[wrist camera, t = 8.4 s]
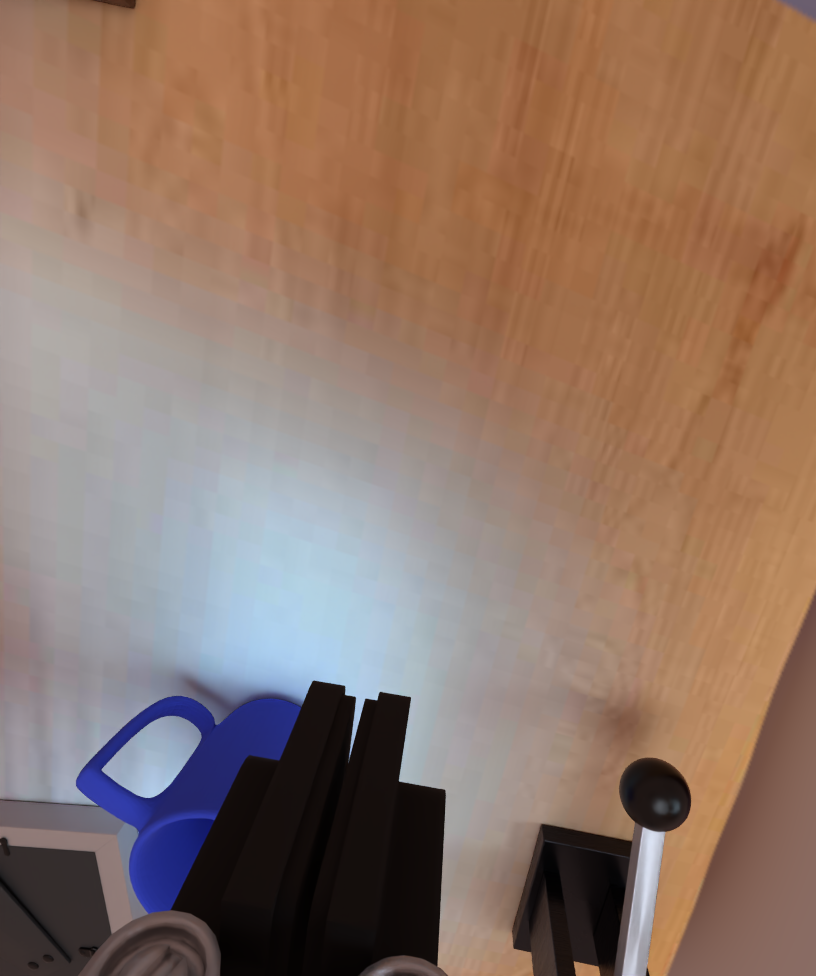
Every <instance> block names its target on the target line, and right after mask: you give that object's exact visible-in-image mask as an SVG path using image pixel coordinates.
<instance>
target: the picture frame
mask: <svg viewBox="0 0 816 976" xmlns="http://www.w3.org/2000/svg"><path fill="white" fill-rule="evenodd" d="M137 837H138V831H137V829H136V828H135V827H133V826H132V825H129V824H127V823H125V822H123V821H122V820H120V819H118V818H117V817H115V816H114V815H112V814H110V813H109V812H107V811H106V810H104V809H103V808H101V807H95V806H80V805H65V804H51V803H36V802H21V801H6V800H0V976H78V975H79V974H80V972H81V971H82V970H83V968H84V967H85V966H86V964H87V963H88V962H89V960H90V959H91V958H92V956H93V955H94V953H95V952H96V951H97V950H98V949H99V948H100V947H101V945H102V944H103V943H104V942H105V941H106V940H107V939H108V938H109V937H110V936H111V935H112V934H113V933H114V932H116V931H117V930H119V929H120V928H121V927H123V926H124V925H126V924H127V923H129V922H130V921H132V920H134V919H137V918H139V917H142V916H145V915H147V914H148V913H147V912H146V910H145V909H144V907H143V906H142V905H141V903H140V902H139V900H138V898H137V897H136V895H135V892H134V890H133V887H132V884H131V881H130V875H129V858H130V853H131V850H132V847H133V845H134V842H135V841H136V839H137Z"/></svg>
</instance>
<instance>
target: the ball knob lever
mask: <svg viewBox="0 0 816 976" xmlns="http://www.w3.org/2000/svg"><path fill="white" fill-rule="evenodd" d="M619 793H620V798H621V802H622V805H623V807H624V809H625V810H626V812H627V814H628V815H629V816H630V817H631V818H632V819H633V820H634V821H635V826H634V833H633V841H632V848H631V855H630V862H629V869H628V876H627V883H626V891H625V898H624V905H623V912H622V919H621V926H620V934H619V941H618V948H617V955H616V962H615V969H614V976H646V971H647V963H648V956H649V948H650V941H651V934H652V926H653V919H654V911H655V904H656V897H657V889H658V882H659V875H660V867H661V860H662V852H663V845H664V838H665V832H667V831H671V830H674V829H676V828H677V827H679V826H680V825H681V824H682V823H683V822H684V821H685V820H686V818H687V816H688V814H689V811H690V807H691V795H690V790H689V787H688V785H687V782H686V780H685V779H684V777H683V776H682V774H681V773H680V772H679V771H678V770H677V769H676V768H675V767H674V766H672V765H671V764H669V763H667V762H666V761H663V760H660V759H657V758H642V759H638V760H636V761H634V762H633V763H631V764H630V765H629V766H628V767H627V768H626V769H625V771H624V772H623V774H622V776H621V779H620V785H619Z"/></svg>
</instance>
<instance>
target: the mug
mask: <svg viewBox="0 0 816 976" xmlns="http://www.w3.org/2000/svg"><path fill="white" fill-rule="evenodd" d="M300 710H301V707H299V706H297V705H296V704H293V703H290V702H288V701H284V700H280V699H259V700H255V701H251V702H249V703H246V704H244V705H242V706H241V707H239V708H238V709H236V710H235V711H234V712H232V713H231V714H230V715H229V716H228V717H227V718H226V719H224V720H223V721H222V722H221V723H220V724H218V725H215V721H214V717H213V716H212V714H211V713H210V712H209V710H208V709H206V708H205V707H204V706H203V705H202V704H200V703H199V702H197V701H195V700H193V699H191V698H188V697H183V696H172V697H167V698H164V699H162V700H159V701H158V702H156V703H154V704H152V705H151V706H149V707H148V708H146V709H145V710H143V711H142V712H141V713H139V714H138V715H137V716H136V717H134V718H133V719H132V720H131V721H130V722H128V723H127V724H126V725H125V726H124V727H123V728H122V729H121V730H120V731H119V732H118V733H117V734H116V735H115V736H114V737H112V738H111V739H110V740H109V741H108V742H107V744H106V745H105V746H104V747H103V748H102V749H101V750H100V751H99V752H98V753H97V754H96V755H95V756H94V757H93V758H92V759H91V760H90V761H89V762H88V763H87V764H86V766H85V767H84V768H83V769H82V771H81V772H80V774H79V776H78V777H77V780H76V786H77V788H78V789H79V790H80V791H81V792H82V793H83V794H84V795H85V796H86V797H88V798H89V799H90V800H92V801H93V802H94V803H96V804H97V805H98V806H100V807H101V808H103V809H104V810H106V811H107V812H109V813H110V814H112V815H114V816H115V817H117V818H118V819H120V820H122V821H123V822H125V823H127V824H129V825H132V826H133V827H135V828H136V829H137V830H138V832H139V835H138V837H137V839H136V841H135V842H134V845H133V847H132V850H131V853H130V858H129V875H130V881H131V884H132V887H133V890H134V892H135V895H136V897H137V898H138V900H139V902H140V903H141V905H142V906H143V907H144V909H145V910H146V912H147V913H148V914H150V913H153V912H162V911H170V910H171V908H172V906H173V904H174V902H175V900H176V898H177V896H178V894H179V892H180V890H181V887H182V885H183V883H184V881H185V879H186V877H187V875H188V873H189V871H190V869H191V867H192V865H193V863H194V861H195V859H196V857H197V855H198V853H199V851H200V849H201V847H202V845H203V843H204V841H205V839H206V837H207V835H208V833H209V831H210V829H211V826H212V824H213V822H214V820H215V818H216V816H217V814H218V812H219V810H220V808H221V806H222V804H223V802H224V800H225V798H226V796H227V794H228V792H229V790H230V788H231V786H232V784H233V782H234V780H235V778H236V776H237V774H238V772H239V770H240V767H241V765H242V764H243V762H244V760H245V759H246V758H247V757H248V756H249V755H252V756H258V757H263V758H269V759H275V760H280V758H281V756H282V753H283V751H284V748H285V746H286V743H287V741H288V739H289V736H290V734H291V731H292V729H293V727H294V724H295V722H296V719H297V717H298V714H299V712H300ZM165 716H179V717H182V718H185V719H187V720H189V721H190V722H191V723H193V724H194V725H195V726H196V727H197V728H198V729H199V731H200V732H201V735H202V738H201V741H200V743H199V745H198V747H197V748H196V750H195V751H194V753H193V754H192V755H191V757H190V758H189V760H188V761H187V763H186V764H185V766H184V767H183V768H182V770H181V771H180V773H179V774H178V775H177V777H176V778H175V779H174V780H173V782H172V783H171V784H170V785H169V786H168V787H167V788H166V789H165V790H164V791H163V792H162V793H160V794H159V795H157V796H155V797H152V798H143V797H140V796H137V795H135V794H134V793H132V792H130V791H129V790H127V789H125V788H124V787H122V786H120V785H119V784H118V783H116V782H115V781H114V780H112V779H111V778H110V777H108V776H107V775H106V774H105V773H103V772H102V770H101V769H102V768H103V767H104V766H105V765H106V764H107V763H108V761H109V760H110V759H111V758H112V757H113V756H114V755H115V754H116V753H117V752H118V751H119V750H120V749H121V748H122V747H123V746H124V745H125V744H126V743H127V742H128V741H129V740H130V739H131V738H132V737H133V736H134V735H135V734H137V733H138V732H139V731H140V730H141V729H143V728H144V727H145V726H147V725H148V724H149V723H151V722H153V721H154V720H156V719H158V718H161V717H165Z"/></svg>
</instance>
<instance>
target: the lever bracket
mask: <svg viewBox="0 0 816 976" xmlns="http://www.w3.org/2000/svg"><path fill="white" fill-rule="evenodd" d="M631 848H632V842H628V841H623V840H618V839H613V838H608V837H603V836H598V835H593V834H588V833H583V832H578V831H572V830H567V829H562V828H557V827H552V826H547V825H542V826H541V830H540V833H539V837H538V840H537V844H536V848H535V851H534V855H533V858H532V862H531V866H530V869H529V873H528V876H527V880H526V884H525V887H524V891H523V894H522V898H521V902H520V905H519V909H518V913H517V916H516V920H515V923H514V927H513V931H512V934H513V947H514V949H518V950H523V951H527V952H531V953H532V963H533V974H534V976H576V974H575V968H574V961H575V962H580V963H585V964H590V965H594V966H599V970H600V976H614V969H615V962H616V955H617V948H618V941H619V934H620V926H621V919H622V912H623V905H624V898H625V891H626V883H627V876H628V869H629V862H630V855H631ZM646 976H649V972H648V968H647V971H646Z"/></svg>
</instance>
